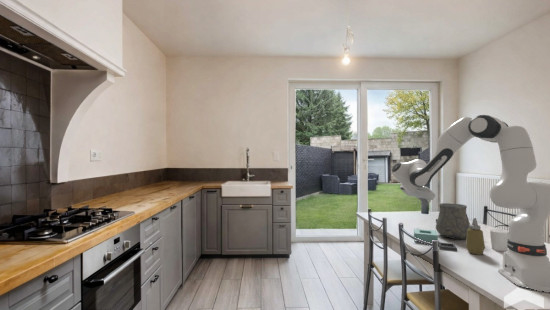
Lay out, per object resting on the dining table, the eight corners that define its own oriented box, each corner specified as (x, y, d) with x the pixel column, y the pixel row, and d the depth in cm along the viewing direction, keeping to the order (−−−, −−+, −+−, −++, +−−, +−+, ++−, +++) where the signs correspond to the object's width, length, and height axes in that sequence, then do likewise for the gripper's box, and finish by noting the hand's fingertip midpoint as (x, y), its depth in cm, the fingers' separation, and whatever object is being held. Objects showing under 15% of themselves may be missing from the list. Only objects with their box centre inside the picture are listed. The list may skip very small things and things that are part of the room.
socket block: (437, 244, 159) (437, 235, 160) (414, 241, 165) (414, 233, 165) (435, 238, 170) (435, 230, 170) (413, 236, 175) (413, 228, 176)
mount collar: (457, 251, 148) (457, 248, 148) (439, 249, 151) (439, 246, 151) (454, 246, 155) (454, 243, 155) (438, 244, 159) (438, 242, 159)
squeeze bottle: (468, 254, 142) (468, 219, 142) (463, 249, 150) (463, 216, 150) (487, 256, 139) (487, 220, 140) (481, 251, 147) (481, 217, 147)
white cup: (512, 252, 145) (512, 233, 145) (495, 251, 147) (495, 232, 147) (503, 247, 153) (503, 229, 153) (487, 246, 155) (487, 228, 155)
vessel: (427, 236, 175) (427, 204, 175) (439, 230, 190) (439, 201, 190) (468, 244, 159) (468, 209, 159) (478, 237, 174) (477, 204, 174)
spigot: (429, 214, 165) (428, 190, 165) (421, 213, 167) (421, 190, 167) (428, 213, 169) (428, 189, 169) (421, 212, 170) (420, 189, 170)
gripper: (429, 183, 156) (443, 199, 159) (403, 180, 176) (416, 195, 178) (422, 191, 155) (437, 208, 157) (397, 187, 174) (410, 202, 177)
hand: (425, 201), depth 168 cm, fingers closed on spigot, 4 cm apart
